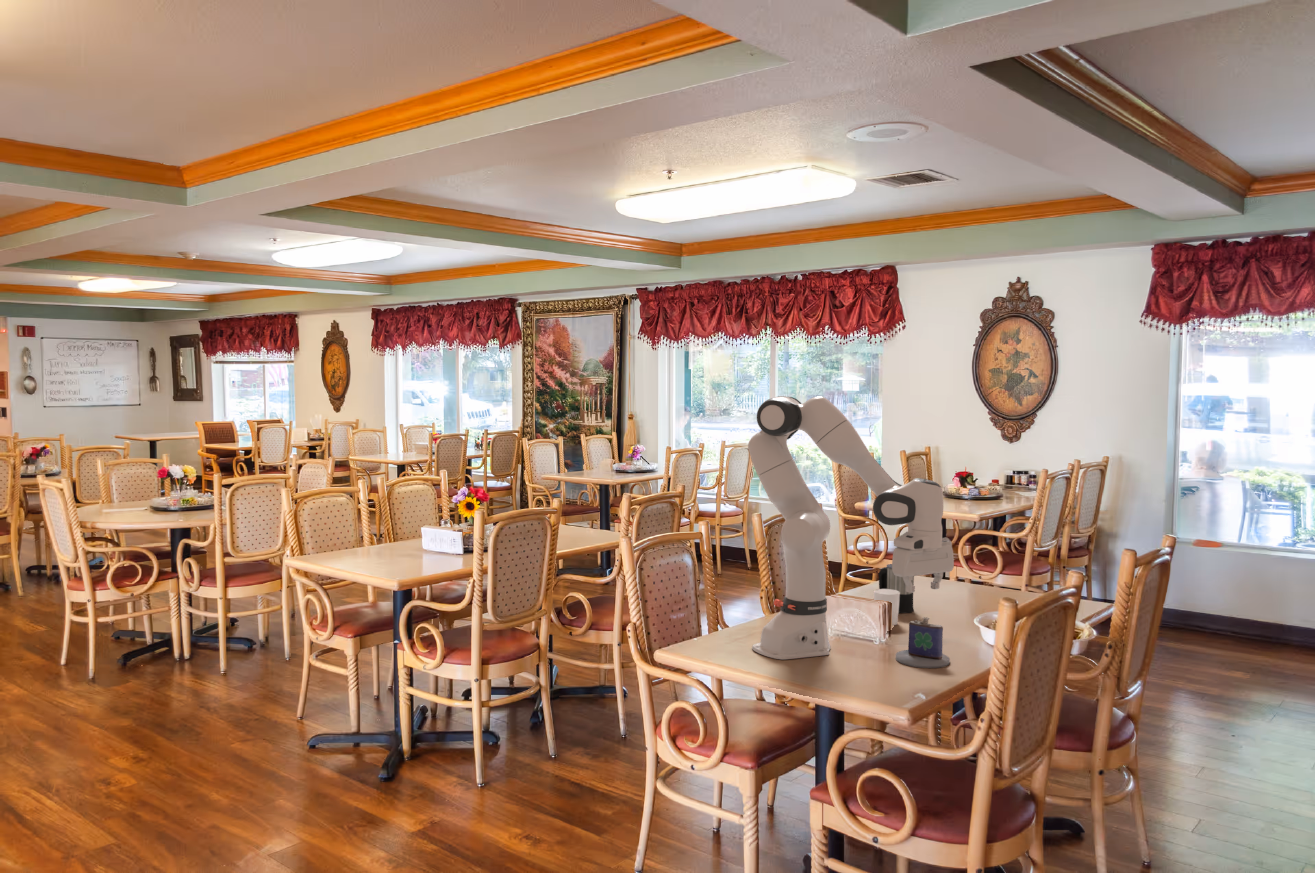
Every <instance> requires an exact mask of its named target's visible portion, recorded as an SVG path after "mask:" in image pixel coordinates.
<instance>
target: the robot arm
mask: <svg viewBox="0 0 1315 873" xmlns="http://www.w3.org/2000/svg"><path fill="white" fill-rule="evenodd" d="M756 422H757V425H758V427H759V429H760V430H759V432H757V433H755V434H754V435H753V436H752V437H751V438H750V439H749V441H748V444H747V449H748V452H749V456H750V459H751V462H752V465H753V468H754V470H755V472H756V474H757V476H758V478H759V480H760V483H761V484H762V487H763V488H764V491H765V492H766V494H767V497H768V499H769V501H770V502H771V504H773V505H774V506H775V507H776V509H777V510H778V511H779V513H780V515H781V516H782V517H783V519H784V522H783V524H782V527H781V532H780V538H781V542H782V549H783V550H782V551H783V557H784V558H783V559H784V562H785V596H784V598H783V600H782V599H778V598H775V599H774V600H773V605H774V607H778V608H780V611H779V612H778V613H777V614H776V615H774V617H772V619H770V621H769V622H767V623H766V624H765V625H764V626H763V628H762V630H761V633H760V634H761V635H760V642H758V643H757V642H756V643H754V644H752V646H751V647H752V648H751V649H752V650H753V651H754V652H756V653H758V654H760V655H762V656H765V657H768V658H771V659H775V660H776V659H777V660H793V659H802V658H810V657H811V658H812V657H819V656H820V657H821V656H827V655H830V650H831V645H830V641H829V636H828V628H827V618H826V612H827V611H828V603H827V602H828V600H827V597H826V582H827V581H826V576H827V575H826V571H827V570H826V568H825V562H824V553H823V543H824V541H825V540H826V539H827V538H828V537H829V535H830V530H831V523H830V518H829V516H828V515H827V514H826V513H825V512H824V510H823V508H822V507H821V505H820V503H819V502H818V500H817V497H815V496H814V494H813V493H812V491H811V490H810V488H809V487H808V486H807V484H806V482H805V480H804V478H803V475H802V474H801V472H800V470H799V467H798V466H797V464H796V462H795V460H794V457H793V456H792V454H791V452H790V449H789V448H788V444H787V443H788V442H787V441H788V440H789V439H791V438H792V437H793V436H795V434H796V433H797V432H798V431H803V433H806V435H808V436H809V437H810V439H811V440H812V441H813V443H814V444H815V445H816V447H817V448H818V449H819V450H820V451H821V452H822V453H823V454H824V455H825V456H826V457H827V458H829V459H830V460H831V461H832V462H834V463H836V464H839V465H842V466H845V467H847V468H848V469H850V470H852V471H853V472H855V473H856V474H857V475H858V476H859V477H860V478H861V479H862V480H863V482H864V483H865V484H866V485H867V486H868V488H869V489H870V490H871V491H872V492H873V494H874V495H875V496H876V498H875V499H874V501H873V505H872V511H873V512H872V513H873V514H874V518H876V519H877V520H878V521H879V523H881V524H884V525H887V526H898V525H899V526H900V525H905V524H907V526H908V528H907V531H906V532H904V533H903V534H901V535H900V536H899V535H898V536H897V537H895V538H894V540H893V546H894V547H895V548H894V550H893V552H892V558H891V559H892V562H891V564H892V571H893V573H894V575H895V576H899V577H903V580H904V582H905V585H906V592H909V593H912V592H913V593H915V591H916V590H915V589H916V586H915V585H914V586H913V585H912V582H911V580H913V576H914V577H917V576H924V575H933V576H934V577H933V580H932V581H930V589H932V590H938V589H940V583H941V581H942V579H943V577H944V573H947V572H952V571H953V569H954V567H955V566H954V565H955V560H954V549H953V542H952V541H951V539H950V538H948V537H943V524H942V518H943V515H944V492H943V489H942V486H941V485H940V483H938V482H936V481H934V480H930V479H928V478H913V479H912V480H911V481H909V482H907V483H905V484H903V485H902V484H900V483H899V482H897V481H895V480H894V479H893V478H892V477H891V476H890V475H889V474H888V472H886V470H885V469H884V468H883V467H882V466H881V465H880V463H879V462H878V461H877V460H876V458H874V457H873V455H872V454H871V452H870V451H869V449H868V448H867V446H866V444H865V443H864V441H863V439H862V438H861V436H860V435H859V433H858V431H857V430H856V428H855V427H854V426H853V425H852V423H851V422H850V421H849V419H848V418H847V417H846V416H845V414H843V413H842V411H841V410H840V409H839V408H838V407H837V406H836V405H835V404H833V402H832V401H830V400H829V399H827V398H826V397H824V396H813V397H811V398H809V399H807V400H806V401H805V402H804V403H802V402H801V401H800V400H799V399H797V398H796V397H792V396H786V395H785V396H784V395H782V396H779V395H778V396H775V397H771V398H769V399H766V400H765V401H764V402H762V403H761V405H760V406H759V407H758V410H757V413H756Z"/></svg>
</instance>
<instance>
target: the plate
mask: <svg viewBox="0 0 1315 873" xmlns="http://www.w3.org/2000/svg"><path fill="white" fill-rule="evenodd" d="M895 660H896V661H897V662H898V663H900V664H902V665H905V666H909V667H912V668H913V667H914V668H919V669H939V668H944V667H947V666H949V665H950V664H951V663H950V660H951V659H950V657H949V656H948V655H946V654H945V653H942V658H941V659H940V660H939V659H930V658H924V657H917V656H912V655H909V653H908V649H904V650H901V651H897V652H896V653H895Z"/></svg>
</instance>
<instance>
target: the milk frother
mask: <svg viewBox="0 0 1315 873" xmlns="http://www.w3.org/2000/svg"><path fill="white" fill-rule="evenodd" d="M911 582H912V585H913V586H915V585H914V584H915V576H913V580H911ZM878 589H892V590H897V591H899V592H900V598H899V612H898V614H906V613H907V614H909V613H913V612H914V611H915V608H914V592H912V593H909V592H906V585H905V582H904V580H903V577H899V576H895V575H894V573H893V571H892V563H889V564H886V566H885V567H882V568H880V570H879V573H878Z"/></svg>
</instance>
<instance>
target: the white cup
mask: <svg viewBox="0 0 1315 873" xmlns="http://www.w3.org/2000/svg"><path fill="white" fill-rule="evenodd" d="M899 598H900V592H899V591H897V590H892V589H879V588H878V589H875V590H873V600H884V601H889V602H891V603H892V626H896V625H898V619H899V618H898V617H899V613H898V612H899Z"/></svg>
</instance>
